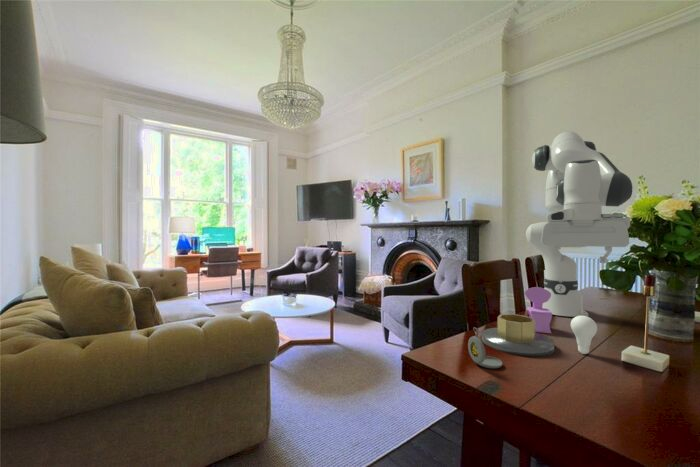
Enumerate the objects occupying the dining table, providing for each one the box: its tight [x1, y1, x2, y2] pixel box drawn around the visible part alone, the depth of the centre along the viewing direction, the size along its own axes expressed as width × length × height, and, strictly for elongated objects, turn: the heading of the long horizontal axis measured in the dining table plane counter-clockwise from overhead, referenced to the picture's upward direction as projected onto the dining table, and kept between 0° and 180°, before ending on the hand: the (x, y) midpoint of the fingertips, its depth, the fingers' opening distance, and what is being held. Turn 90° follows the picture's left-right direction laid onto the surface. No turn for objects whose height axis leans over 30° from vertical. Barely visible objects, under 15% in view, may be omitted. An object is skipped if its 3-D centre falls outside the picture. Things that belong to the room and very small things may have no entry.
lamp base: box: [481, 313, 555, 357], centre depth 96 cm, size 20×20×8 cm
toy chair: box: [524, 286, 553, 334], centre depth 110 cm, size 8×9×15 cm
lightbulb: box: [570, 316, 598, 355], centre depth 88 cm, size 6×6×11 cm
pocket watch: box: [467, 327, 503, 369], centre depth 81 cm, size 8×8×10 cm
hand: (582, 262), depth 89 cm, fingers open, 8 cm apart
